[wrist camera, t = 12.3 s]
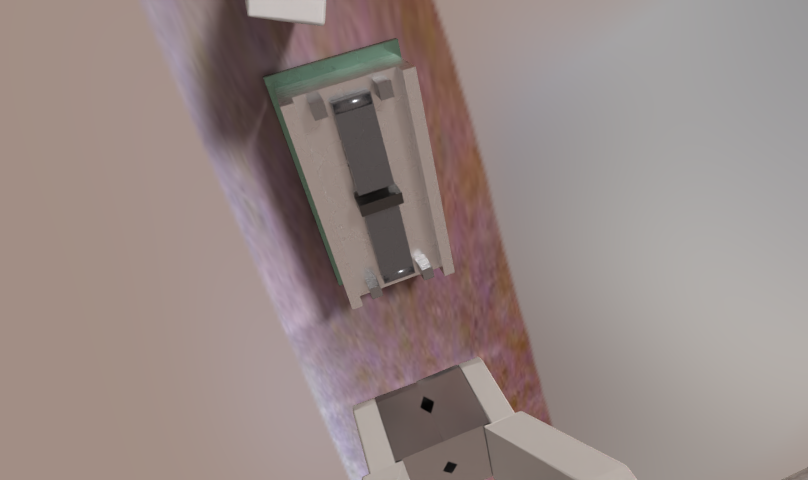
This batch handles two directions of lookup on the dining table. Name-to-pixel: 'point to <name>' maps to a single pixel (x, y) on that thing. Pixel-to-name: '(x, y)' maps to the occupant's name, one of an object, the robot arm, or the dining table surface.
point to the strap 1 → (362, 141)
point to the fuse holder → (330, 173)
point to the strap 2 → (390, 244)
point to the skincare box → (288, 10)
